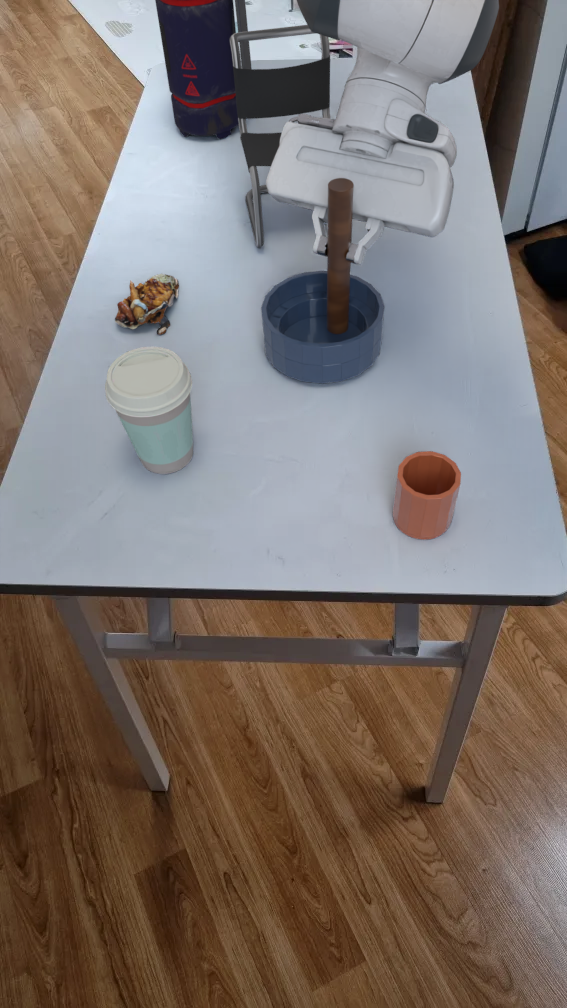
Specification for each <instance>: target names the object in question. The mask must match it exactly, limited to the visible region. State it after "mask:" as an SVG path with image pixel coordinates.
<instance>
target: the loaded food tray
mask: <svg viewBox="0 0 567 1008" xmlns="http://www.w3.org/2000/svg"><path fill="white" fill-rule="evenodd" d="M128 286H129V295H128V296H127V297H125V298H124V299H123V300H121V301H119V302H118V303H116V305H117V313H116V316H115V318H114V322H115V323H116V324H117V325H118V326H120V327H121V328H129V329H130V330H135V329H138V327H140V326H142V325H145V324H157V323H158V324H159V327H158V328H157V329H156V334H157V335H158V336H159V335H160V336H161V335H164V334H167V329H168V328H169V327H170V326H171V320H169V318H167V317H166V315H165V312H166V310H167V308H170V307H172V306H173V305H174V299H175V298H176V299H177V300H178V299H179V296H180V294H179V288H180V283H179V279H177V278H176V277H174V276H173V275H169V274H165V273H159V274H158V273H157V274H156V275H152V276H151V277H150V278H149V279H147V280H146V281H145V282H144V283H142V282H139V283H138V284H137V285H136V284H135V282H133V281H132V280H129V285H128Z"/></svg>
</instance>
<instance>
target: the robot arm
mask: <svg viewBox="0 0 567 1008" xmlns="http://www.w3.org/2000/svg"><path fill="white" fill-rule="evenodd" d="M296 3H297V5H298V8H299V11H300V12H301V15H302V17H303V19H304V21H305V23H306V25H308V26H309V28H310V30H311V32H314V33H315V34H317V35H319V34H320V35H323V36H326V37H328V38H330V39H332V40H336V41H342V42H345V43H347V44H349V45H352V46H354V47H356V48H357V49H356V59H355V63H354V66H353V68H352V70H351V72H350V74H349V75H348V77H347V79H346V81H345V85H344V88H343V91H342V94H341V98H340V102H339V105H338V108H337V112H336V115H335V119H334V118H330V119H329V118H323V116H322V117H320V116H312V115H311V114H309V113H303V114H298V116H295V117H292V118H290V119H289V120H288V121H286V122H285V124H284V126H283V128H282V131H281V132H282V134H281V138H280V146H279V148H278V150H277V152H276V155H275V157H274V160H273V162H272V165H271V167H270V168H269V171H268V173H267V176H266V180H265V185H266V187H267V189H268V192H267V193H268V194H269V195H270V196H271V197H272V198H273V199H274V200H275V201H277V202H279V203H281V204H285V205H290V206H294V207H298V208H303V209H308V210H312V214H311V219H312V224H313V229H314V233H315V235H316V236H315V238H314V242H313V246H312V252H313V254H315V255H317V256H323V257H326V258H327V233H326V232H327V231H326V227H325V224H327V225H328V183H329V182H330V181H331V180H333V179H337V178H346V179H349V180H351V181H352V182H353V184H354V190H353V216H352V220H354V221H358V222H363V223H365V226H364V227H365V230H367V232H366V234H365V235H364V236H363V237H362V238H361V239H360V240H359V241H358V242H357V243H353V242H352V243H350V246H349V252H348V253H347V255H346V260H347V261H348V262H350V263H351V264H353V265H357V266H362V265H363V262H364V261H365V260H364V259H365V257H366V254H367V250H369V249H370V248H371V247H372V246H373V245H374V244H375V243H376V242H378V241H379V240H380V239H381V237H382V235H383V232H384V229H385V228H389V229H394V230H398V231H402V232H406V233H411V234H416V235H419V236H424V237H429V238H436V237H438V235H440V234H441V233H442V232H443V231H444V230H445V228H446V225H447V222H448V219H449V215H450V210H451V206H452V201H453V195H454V190H455V189H454V187H455V180H454V176H453V173H452V169H451V168H452V167H453V166H454V164H455V162H456V160H457V155H458V149H457V143H456V141H455V138H454V135H453V133H452V131H451V130H450V128H449V127H448V126H447V125H445V124H444V123H442V122H441V121H439V120H437V119H436V118H434V117H432V116H431V115H429V114H428V113H426V109H427V97H428V92H429V89H430V87H431V85H432V84H438V85H442V84H444V83H445V84H446V83H447V82H449V81H452V80H455V79H456V78H459V77H460V76H463V75H465V74H467V73H469V72H471V71H472V70H474V68H476V67H477V66H478V64H479V63H480V62H481V60H482V58H483V56H484V54H485V51H486V49H487V46H488V43H489V42H490V38H491V35H492V34H493V33H492V32H493V31H494V30H493V29H494V26H495V23H496V20H497V16H498V14H499V10H500V2H499V0H296ZM320 35H319V36H320Z"/></svg>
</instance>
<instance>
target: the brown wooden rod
mask: <svg viewBox="0 0 567 1008" xmlns="http://www.w3.org/2000/svg"><path fill="white" fill-rule="evenodd" d="M353 190H354V184H353V182H352V181H351V180H349V179H346V178H337V179H333V180H331V181H330V182H329V183H328V224H327V231H326V232H327V233H326V237H327V257H326V271H327V330H328V331H329V332H330V333H333V334H342V333H345V332H346V331H347V330H348V322H349V295H350V275H351V269H352V268H351V265H352V263H350V262H348V261H347V260H346V255H347V253H348V252H349V246H350V243H353V242H352V241H353V240H352V239H353V219H352V216H353Z"/></svg>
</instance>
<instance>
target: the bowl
mask: <svg viewBox="0 0 567 1008" xmlns="http://www.w3.org/2000/svg"><path fill="white" fill-rule="evenodd" d="M263 298H264V299H263V301H262V304H261V307H260V311H261V313H260V314H261V323H262V336H263V345H264V351H265V356H266V357H267V359H268V361H269V362H270V363H271V365H272V366H273V368H275V369H276V370H277V371H279V372H281V373H282V374H283V375H285V376H286V377H288V378H291V379H294V380H297V381H300V382H303V383H313V384H330V383H336V382H337V383H338V382H343V381H346V380H349V379H352V378H354V377H358V376H360V375H361V374H362V373H364V372H365V371H367V370H368V369H369V368H372V366H373V365H374V363H375V362H376V360H377V359H378V357H379V356H380V354H381V349H382V344H383V343H382V342H383V333H384V332H383V331H384V319H385V318H384V317H385V303H384V300H383V297H382V295H381V293H380V292H379V291H378V289H377V288H376V287H375V286H374V285H373V284H371V283H370V282H368V281H367V280H364V279H363V278H361V277H359V276H357V275H354V274H350V295H349V322H348V330H347V331H346V332H345V333H342V334H333V333H330V332H329V331H328V330H327V270H324V269H323V270H314V271H305V272H302V273H299V274H295V275H292V276H289V277H287V278H285V279H283V280H282V281H280V282H278V283H277V284H275V285H273V287H272V288H271V289H270V290H269V291H268V292H267V293H266V294H265V295H264V297H263Z"/></svg>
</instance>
